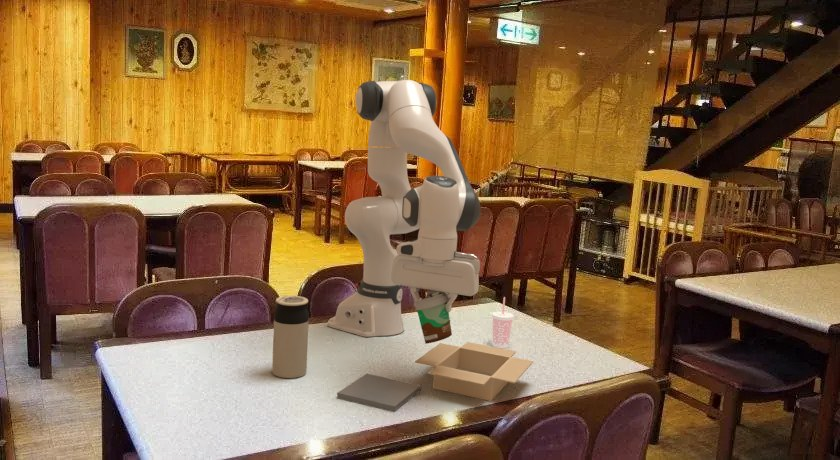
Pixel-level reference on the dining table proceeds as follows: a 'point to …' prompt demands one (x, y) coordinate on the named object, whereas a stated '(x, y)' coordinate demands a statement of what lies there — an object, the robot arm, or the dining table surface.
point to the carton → (473, 369)
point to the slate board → (379, 392)
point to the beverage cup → (501, 328)
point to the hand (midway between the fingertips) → (432, 308)
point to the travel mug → (290, 337)
